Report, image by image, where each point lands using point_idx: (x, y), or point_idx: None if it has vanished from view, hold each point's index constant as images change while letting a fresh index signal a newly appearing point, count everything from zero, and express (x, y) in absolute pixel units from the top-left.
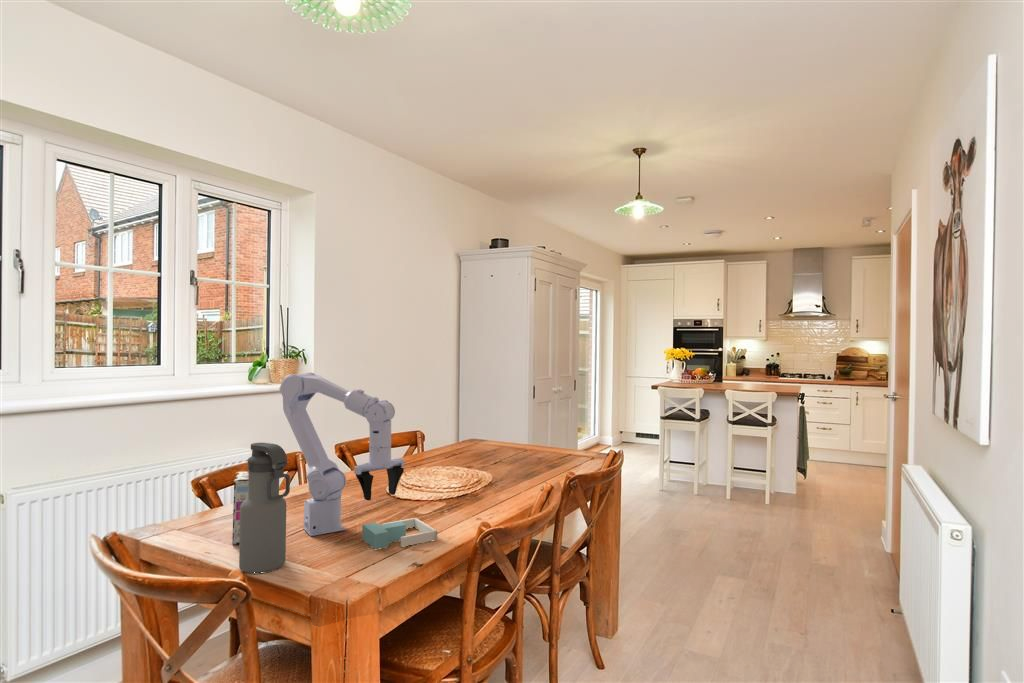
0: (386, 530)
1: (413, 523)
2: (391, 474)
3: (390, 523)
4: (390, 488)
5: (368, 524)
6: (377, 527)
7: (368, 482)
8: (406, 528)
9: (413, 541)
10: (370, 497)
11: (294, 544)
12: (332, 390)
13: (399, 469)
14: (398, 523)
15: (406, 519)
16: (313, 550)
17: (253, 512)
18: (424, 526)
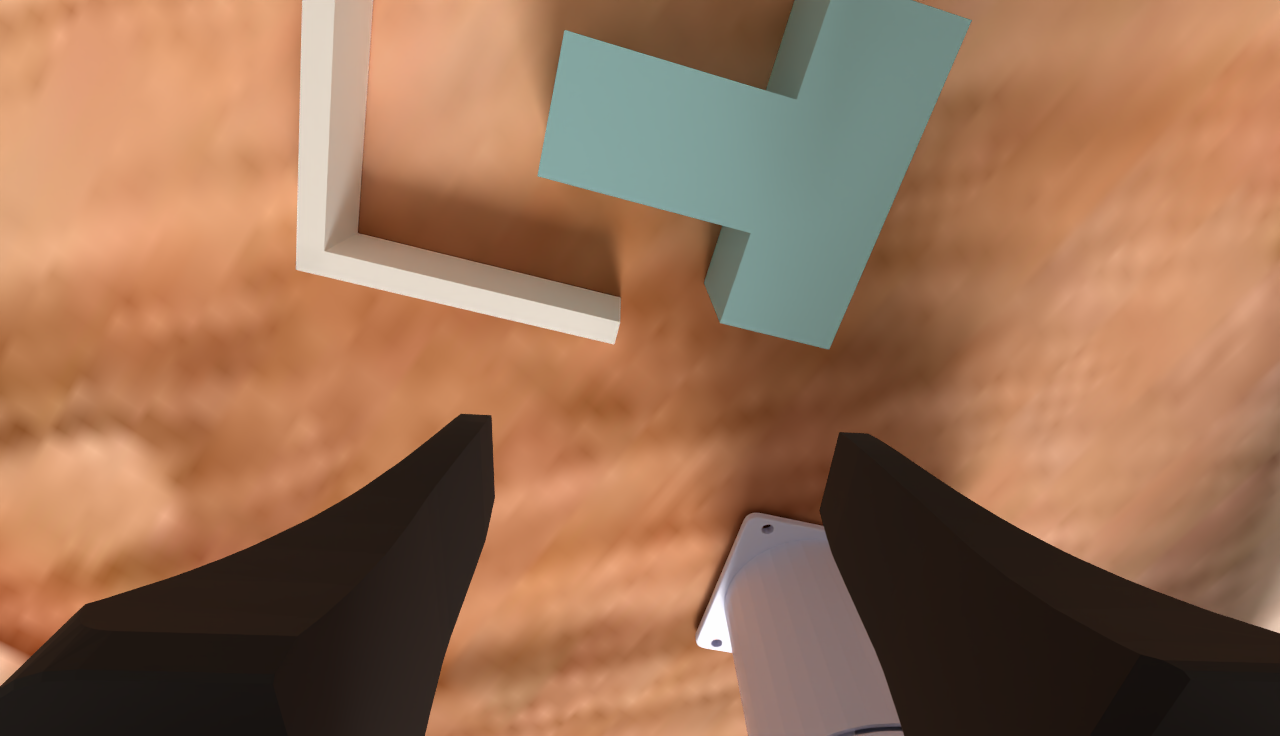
0: (822, 31)
1: (349, 244)
2: (391, 716)
3: (650, 190)
4: (475, 521)
5: (799, 313)
6: (810, 183)
7: (1098, 586)
8: (425, 252)
9: None
10: (865, 442)
11: (1081, 511)
12: None
13: (184, 690)
14: (595, 129)
15: (392, 288)
16: (1114, 360)
17: None
18: (340, 16)
